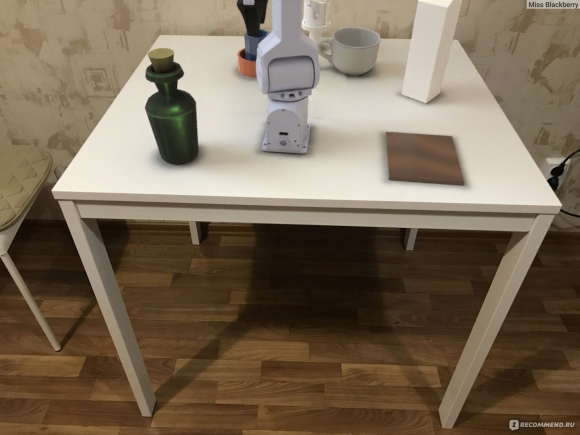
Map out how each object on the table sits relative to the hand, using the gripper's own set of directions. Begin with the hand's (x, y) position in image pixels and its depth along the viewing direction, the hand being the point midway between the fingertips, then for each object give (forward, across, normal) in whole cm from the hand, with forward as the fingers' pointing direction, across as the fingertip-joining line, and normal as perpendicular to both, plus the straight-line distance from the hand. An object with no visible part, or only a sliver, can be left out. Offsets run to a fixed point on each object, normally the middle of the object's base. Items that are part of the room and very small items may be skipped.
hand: (256, 29), depth 99 cm
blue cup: (+9, 0, 0) cm, 9 cm away
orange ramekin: (+9, 0, 0) cm, 9 cm away
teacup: (+10, -3, +20) cm, 22 cm away
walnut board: (+9, +31, +34) cm, 47 cm away
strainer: (+10, -14, +12) cm, 21 cm away
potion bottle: (+10, +35, -8) cm, 37 cm away
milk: (+10, +7, +36) cm, 38 cm away
